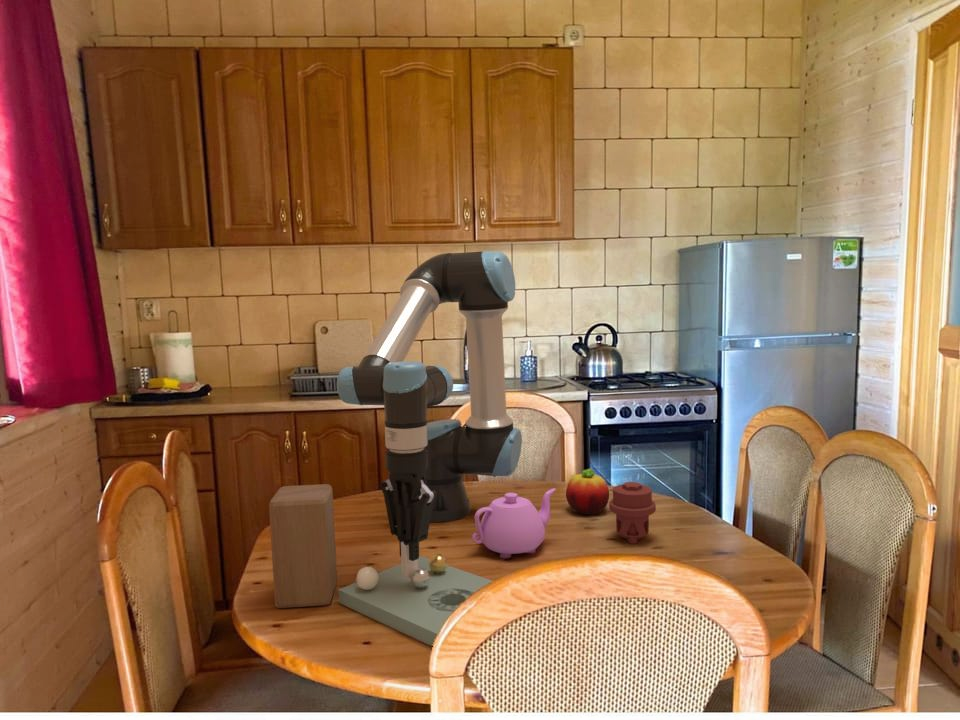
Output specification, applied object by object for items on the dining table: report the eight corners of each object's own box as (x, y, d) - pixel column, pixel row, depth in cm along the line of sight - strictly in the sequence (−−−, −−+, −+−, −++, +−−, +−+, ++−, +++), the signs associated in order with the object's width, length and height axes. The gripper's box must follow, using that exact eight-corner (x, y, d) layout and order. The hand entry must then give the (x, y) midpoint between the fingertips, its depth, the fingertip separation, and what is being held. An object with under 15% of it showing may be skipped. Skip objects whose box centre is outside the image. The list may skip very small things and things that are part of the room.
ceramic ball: (352, 589, 121) (351, 568, 121) (369, 582, 124) (368, 561, 124) (366, 596, 119) (365, 574, 118) (383, 588, 122) (382, 566, 121)
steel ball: (408, 568, 120) (420, 579, 118) (423, 561, 123) (435, 572, 121) (405, 583, 122) (417, 595, 120) (420, 577, 124) (432, 588, 122)
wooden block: (285, 586, 129) (279, 485, 127) (338, 583, 130) (332, 482, 128) (274, 610, 120) (267, 501, 118) (331, 607, 120) (325, 498, 118)
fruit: (561, 515, 165) (560, 476, 164) (572, 502, 175) (571, 465, 174) (604, 520, 161) (604, 479, 160) (613, 506, 171) (613, 468, 170)
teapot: (542, 530, 156) (541, 479, 154) (573, 551, 143) (572, 495, 141) (461, 544, 148) (459, 491, 147) (485, 568, 135) (484, 509, 134)
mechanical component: (654, 531, 153) (657, 548, 143) (609, 529, 155) (609, 545, 145) (654, 478, 152) (656, 491, 142) (609, 477, 154) (608, 490, 144)
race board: (339, 603, 122) (338, 589, 121) (419, 567, 137) (419, 555, 136) (440, 650, 104) (440, 635, 104) (520, 604, 119) (520, 590, 119)
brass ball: (425, 573, 128) (424, 555, 127) (438, 567, 130) (437, 549, 130) (438, 577, 125) (437, 559, 125) (451, 571, 128) (450, 554, 128)
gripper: (367, 447, 122) (371, 572, 124) (415, 457, 113) (418, 592, 115) (398, 439, 127) (402, 560, 130) (446, 449, 119) (449, 578, 121)
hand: (409, 575), depth 123 cm, fingers closed
